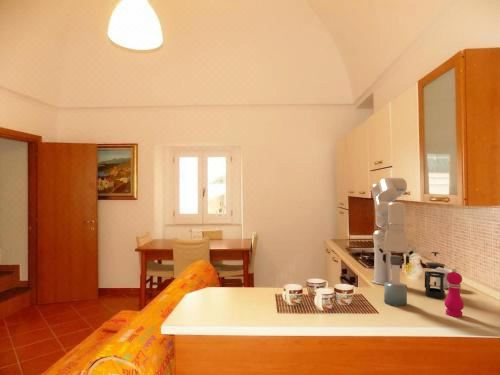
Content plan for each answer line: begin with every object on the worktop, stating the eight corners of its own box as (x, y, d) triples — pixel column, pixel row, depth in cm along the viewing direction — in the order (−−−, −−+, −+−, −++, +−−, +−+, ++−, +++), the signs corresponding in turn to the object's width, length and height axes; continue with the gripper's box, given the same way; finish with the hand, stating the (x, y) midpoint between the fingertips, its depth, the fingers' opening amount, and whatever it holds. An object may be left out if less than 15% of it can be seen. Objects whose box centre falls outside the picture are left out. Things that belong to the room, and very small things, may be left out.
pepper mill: (454, 311, 154) (454, 266, 155) (467, 317, 147) (468, 270, 148) (440, 312, 153) (440, 267, 153) (453, 318, 146) (453, 270, 146)
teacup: (454, 285, 204) (454, 268, 204) (455, 291, 191) (455, 273, 191) (431, 282, 209) (431, 266, 210) (431, 288, 196) (431, 270, 196)
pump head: (401, 284, 162) (401, 257, 162) (389, 283, 164) (390, 256, 164) (400, 280, 169) (401, 255, 170) (390, 279, 171) (390, 254, 172)
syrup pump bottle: (407, 307, 158) (407, 267, 159) (383, 304, 162) (384, 265, 163) (406, 301, 168) (406, 263, 168) (384, 299, 171) (384, 261, 172)
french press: (450, 298, 175) (451, 253, 176) (435, 299, 173) (435, 253, 174) (433, 292, 187) (433, 250, 187) (418, 293, 184) (418, 250, 185)
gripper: (376, 227, 166) (376, 263, 165) (416, 229, 159) (416, 266, 159) (377, 226, 173) (377, 260, 172) (415, 228, 166) (415, 264, 166)
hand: (395, 263), depth 166 cm, fingers open, 9 cm apart
